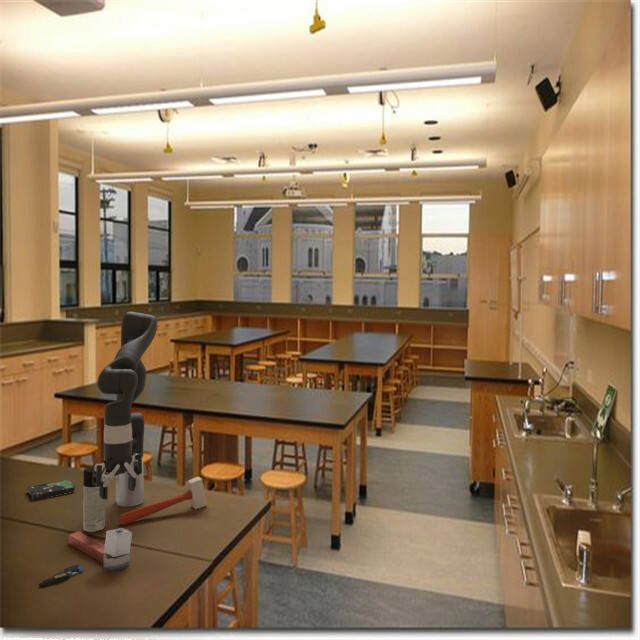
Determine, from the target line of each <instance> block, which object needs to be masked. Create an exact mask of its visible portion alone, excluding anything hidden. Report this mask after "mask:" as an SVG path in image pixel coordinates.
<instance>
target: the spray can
mask: <svg viewBox="0 0 640 640" xmlns="http://www.w3.org/2000/svg"><path fill="white" fill-rule="evenodd" d="M104 470H105V468H103V471H102V474H103V472H104ZM101 478H102V476H101ZM92 479H93V465H92V466H89V467H85V468H84V469H83V483H82V484H83V485H82V487H83V492H82V494H83V496H82V497H83V498H82V499H83V500H82V504H83V505H82V506H83V508H82V510H83V512H82V517H83V518H82V519H83V520H82V522H83V523H82V529H83V531H84V532H85V531H86V532H85V533H97V532H99V530H100V531H102V530H103V529H105V526H106V500H103V499H102V498H101V497H100V496H99V494H100V493H99V487H97V486H95V485H93V484H92ZM96 531H97V532H96Z"/></svg>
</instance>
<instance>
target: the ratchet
mask: <svg viewBox="0 0 640 640" xmlns="http://www.w3.org/2000/svg"><path fill="white" fill-rule="evenodd" d="M68 544H69V545H71V546H73V547H74V548H76V549H78V550H80V551H81V552H83V553H84V554H87V556H90V557H91V558H93V559H96V560H97V561H99V562H101V563H103V570H104V571H106V572H109V573H117V571H118V572H122V571H124V570H126V569H128V568H129V566H130V565H131V562H130V561H131V558H130V553H131V552H130V553H128V554H124V555H121V556H117V557H113V556H111V555H109V554H107V553H105V552H104V547H105V543H104V544H103V543H102V542H100V541H98V540H96V539H94V538H93V537H90V536H89V535H86V534H85V533H83V532H81V531H79V530H78V531H76V532H72V533H70V534H68Z"/></svg>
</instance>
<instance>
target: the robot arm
mask: <svg viewBox="0 0 640 640" xmlns="http://www.w3.org/2000/svg"><path fill="white" fill-rule="evenodd" d="M120 328H121V329H120V347H119V349H118V351H117V352H116V354H115V357H114V358H113V360H112V361H110V363H108V364H107V365H106V366H105V367H104V368H103V369H102V370H101V371H100V373H99V375H98V377H97V381H96V383H97V388H98V390H99V391H100V392H101V393H103V394H106V395H116V401H115V400H114V401H111V402H108V403H106V405H105V407H104V428H103V458H104V460H103V462H102V463H101V462H100V463H96V462H95V463H94V464H93V465H92V466H93V479H92V484H93V485H95V486H97V487H99V493H100V494H99V496H100V497H101V498H102V499H103V500H105V501H107V500H108V497H109V496H108V489H109V488H108V485H109V482H110V481H111V480H112V479H113V478H114V477H115V502H116V505H117V506H118V507H122V508H123V507H124V508H129V507H136V506H139V505H141V504H142V503H144V441H145V440H144V439H145V418H144V416H143V413H142V412H132V406H133V403H134V402H135V401H136V400H137V399H138V398H139V397H140V396H141V395H142V393H143V391H144V390H145V386H146V378H147V369H146V366H145V365H144V363H143V361H142V357H143V356H144V353H145V352H146V351H147V349H148V348H149V347H150V346H151V344H152V342H153V340H154V339H155V337H156V334H157V330H158V319H157V317H156V316H155V315H152V314H146V313H141V312H135V311H127V312H125V313H124V314H123V317H122V321H121V325H120ZM103 468H105V470H104V472H103V474H102V471H103ZM101 476H102V478H101Z"/></svg>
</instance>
